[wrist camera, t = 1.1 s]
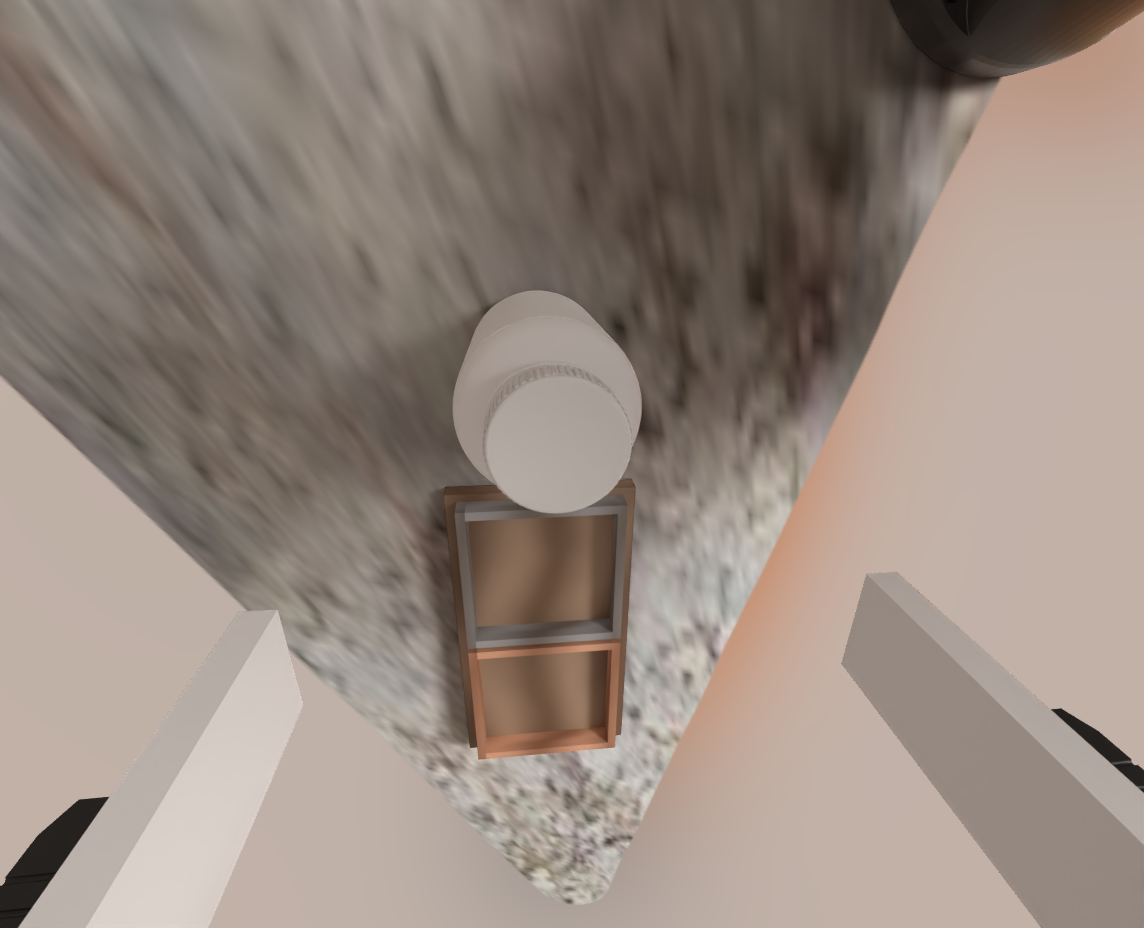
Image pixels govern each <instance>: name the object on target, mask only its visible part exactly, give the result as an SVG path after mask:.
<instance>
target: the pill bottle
mask: <svg viewBox="0 0 1144 928" xmlns="http://www.w3.org/2000/svg"><path fill="white" fill-rule="evenodd" d="M641 412H642V399H641V391H640V386H639V382H638V379H637V376H636V373H635V371H634V369H633V366H632V365H631V363H630V361H629V359H628V358H627V356H626V355H625V353H624V352H623V350H622V349H621V348H620V347H619V346H618V344H617V343H616V342H615V341H614V340H613V339H612V338H611V337H610V336H609V335H608V334H607V333H606V332H605V331H604V329H603V328H602V327H601V326H600V325H599V324H598V323H597V322H596V321H595V320H594V319H593V318H592V317H591V316H590V315H589V314H588V313H587V311H586V310H585V309H583V308H582V307H581V306H580V305H579V304H577V303H576V302H574V301H573V300H571V299H569V298H567V297H565V296H563V295H560V294H557V293H554V292H549V291H541V290H533V291H525V292H520V293H517V294H514V295H511V296H509V297H507V298H505V299H503V300H501V301H500V302H498V303H497V304H496V305H494V306H493V307H492V308H491V309H490V310H489V311H488V312H487V313H486V314H485V315H484V316H483V318H482V319H481V321H480V322H479V324H478V326H477V328H476V330H475V332H474V334H473V337H472V340H471V342H470V345H469V348H468V350H467V353H466V356H465V359H464V361H463V364H462V367H461V369H460V372H459V375H458V378H457V381H456V385H455V389H454V395H453V421H454V427H455V431H456V434H457V437H458V440H459V442H460V445H461V447H462V449H463V451H464V452H465V454H466V456H467V457H468V458H469V460H470V461H471V463H472V464H473V465H474V466H475V468H476V469H477V470H478V471H479V472H480V473H481V474H482V475H483V476H484V477H486V478H487V479H488V480H489V481H491V482H492V483H493V484H495V485H497V487H498V489H499V490H501V491H502V493H503V494H504V495H506V496H507V497H508V498H509V499H511V500H513V502H515V503H518V504H519V505H520V506H523V507H525V508H527V509H531V510H533V511H538V512H542V513H553V514H557V513H568V512H573V511H577V510H580V509H583V508H585V507H588V506H590V505H592V504H594V503H596V502H597V501H599V500H601V499H602V498H603V497H604V496H605V495H607V494H608V493H609V492H610V491H611V490H612V489H613V488H614V487H615V485H617V484H618V481H619V480H620V479H621V478H622V475H623V474H624V473H625V471H626V467H627V466H628V464H629V463H628V461H630V454H631V453H632V449H631V448H632V446H633V444H634V442H635V439H636V436H637V433H638V430H639V425H640V420H641Z"/></svg>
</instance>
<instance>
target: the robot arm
mask: <svg viewBox="0 0 1144 928" xmlns="http://www.w3.org/2000/svg"><path fill="white" fill-rule="evenodd" d="M892 3H893V6H894V8H895V10H896V13H897V15H898V17H899V19H900V21H901V23H902V25H903V27H904V28H905V30H906V31H907V33H908V34H909V36H910V37H911V38H912V40H913V41H914V42H915V44H916V45H917V46H918V47H919V48H920V49H921V50H922V51H923V52H924V53H925V54H926V55H927V56H929V57H930V58H931V59H932V60H934V61H935V62H937V63H938V64H940V65H942V66H943V67H945V68H947V69H949V70H952V71H954V72H957V73H960V74H964V75H968V76H973V77H1002V76H1007V75H1013V74H1017V73H1020V72H1024V71H1027V70H1030V69H1034V68H1037V67H1040V66H1043V65H1047V64H1050V63H1053V62H1056V61H1059V60H1062V59H1064V58H1067V57H1069V56H1071V55H1073V54H1076V53H1077V52H1080V51H1082V50H1084V49H1086V48H1088V47H1090V46H1091V45H1093V44H1095V43H1097V42H1098V41H1100V40H1101V39H1103V38H1105V37H1106V36H1108V35H1109V34H1110V33H1112V32H1113V31H1115V30H1116V29H1118V28H1119V27H1120V26H1122V25H1123V24H1125V23H1126V22H1128V21H1129V20H1131V19H1132V18H1134V17H1135V16H1137V15H1139V14H1140V13H1142V12H1143V11H1144V0H892ZM841 664H842V665H843V666H844V668H845V669H846V670H847V672H848V673H849V674H850V676H851V677H852V678H853V680H854V681H855V682H856V684H857V685H858V686H859V688H860V689H861V690H862V691H863V693H864V694H865V696H866V697H867V698H868V699H869V701H870V702H871V703H872V705H873V706H874V707H875V709H876V710H877V711H878V712H879V714H880V715H881V717H882V718H883V719H884V721H885V722H886V723H887V724H888V726H889V727H890V728H891V730H892V731H893V733H894V734H895V735H896V736H897V738H898V739H899V740H900V742H901V743H902V744H903V746H904V747H905V748H906V750H907V751H908V752H909V754H910V755H911V756H912V757H913V759H914V760H915V761H916V763H917V764H918V766H919V767H920V768H921V769H922V771H923V772H924V773H925V775H926V776H927V777H928V779H929V780H930V781H931V782H932V784H933V785H934V787H935V788H936V789H937V791H938V792H939V793H940V795H941V796H942V797H943V799H944V800H945V801H946V803H947V804H948V805H949V806H950V808H951V809H952V810H953V812H954V813H955V814H956V816H957V817H958V818H959V820H960V821H961V822H962V824H963V825H964V826H965V827H966V829H967V830H968V832H969V833H970V834H971V835H972V837H973V838H974V840H975V841H976V842H977V843H978V845H979V846H980V847H981V849H982V850H983V851H984V853H985V854H986V855H987V857H988V858H989V859H990V860H991V862H992V863H993V864H994V866H995V867H996V869H997V870H998V871H999V873H1000V874H1001V875H1002V876H1003V878H1004V879H1005V880H1006V882H1007V883H1008V884H1009V886H1010V887H1011V888H1012V890H1013V891H1014V892H1015V894H1016V895H1017V896H1018V898H1019V899H1020V900H1021V902H1022V903H1023V904H1024V906H1025V907H1026V908H1027V909H1028V911H1029V912H1030V913H1031V915H1032V916H1033V917H1034V919H1035V920H1036V921H1037V923H1038V924H1039V925H1040V927H1041V928H1144V770H1143V769H1142V768H1141V767H1139V766H1138V765H1133V763H1132V762H1131V759H1130V758H1129V757H1128V756H1127V755H1126V754H1124V753H1123V752H1122V751H1121V750H1120V749H1119V748H1117V747H1116V746H1115V745H1114V744H1113V743H1112V742H1110V741H1109V740H1108V739H1107V738H1106V737H1105V736H1103V735H1102V734H1101V733H1100V732H1099V731H1097V730H1096V729H1094V728H1092V727H1091V726H1089V725H1087V724H1085V723H1084V722H1082V721H1080V720H1079V719H1077V718H1076V717H1074V716H1072V715H1071V714H1069V713H1067V712H1066V711H1064V710H1063V709H1049V708H1048V707H1047V706H1046V705H1045V704H1044V703H1043V702H1042V701H1040V700H1039V699H1038V698H1037V697H1036V696H1035V695H1034V694H1033V693H1032V692H1030V691H1029V690H1028V689H1027V688H1026V687H1025V686H1024V685H1023V684H1021V683H1020V682H1019V681H1018V680H1017V679H1016V678H1015V677H1014V676H1013V675H1011V674H1010V673H1009V672H1008V671H1007V670H1006V669H1005V668H1004V667H1003V666H1001V665H1000V664H999V663H998V662H997V661H996V660H994V658H992V657H991V656H990V655H989V654H988V653H987V652H986V651H985V650H983V649H982V648H981V647H980V646H979V645H978V644H977V643H976V642H975V641H973V640H972V639H971V638H970V637H969V636H968V635H967V634H966V633H964V632H963V631H962V630H961V629H960V628H959V627H958V626H957V625H956V624H954V623H953V622H952V621H951V620H950V619H949V618H948V617H947V616H946V615H944V614H943V613H942V612H941V611H940V610H939V609H938V608H937V607H936V606H934V605H933V604H932V603H931V602H930V601H929V600H928V599H926V598H925V597H924V596H923V595H922V594H921V593H920V592H919V591H918V590H916V589H915V588H914V587H913V586H912V585H911V584H910V583H909V582H907V581H906V580H905V579H904V578H903V577H902V576H901V575H900V574H899V573H897V572H889V573H873V574H866V578H865V581H864V584H863V588H862V592H861V596H860V599H859V603H858V606H857V610H856V613H855V617H854V620H853V624H852V628H851V632H850V635H849V639H848V642H847V645H846V649H845V653H844V656H843V660H842V663H841ZM302 708H303V703H302V699H301V695H300V691H299V688H298V684H297V680H296V677H295V673H294V669H293V666H292V662H291V658H290V654H289V650H288V647H287V643H286V639H285V636H284V632H283V628H282V624H281V621H280V617H279V613H278V610H261V611H245V612H239V613H238V614H237V615H236V617H235V618H234V619H233V621H232V622H231V624H230V625H229V627H228V628H227V629H226V631H225V633H224V634H223V635H222V637H221V638H220V640H219V641H218V643H217V644H216V645H215V647H214V648H213V650H212V651H211V652H210V654H209V655H208V657H207V658H206V660H205V661H204V663H203V664H202V665H201V667H200V668H199V670H198V671H197V673H196V674H195V675H194V677H193V678H192V680H191V681H190V683H189V684H188V685H187V687H186V688H185V690H184V691H183V693H182V694H181V695H180V697H179V698H178V700H177V701H176V703H175V704H174V705H173V707H172V708H171V710H170V711H169V713H168V714H167V715H166V717H165V718H164V720H163V721H162V723H161V724H160V726H159V727H158V728H157V730H156V731H155V733H154V734H153V735H152V737H151V738H150V740H149V741H148V743H147V744H146V745H145V747H144V748H143V750H142V751H141V753H140V754H139V756H138V757H137V758H136V760H135V761H134V763H133V764H132V766H131V767H130V769H129V770H128V771H127V773H126V774H125V776H124V777H123V778H122V780H121V782H120V783H119V784H118V786H117V787H116V788H115V790H114V791H113V793H112V794H111V796H110V797H102V798H92V799H80V800H78V801H77V802H76V803H75V804H73V805H72V806H71V807H70V808H69V809H68V810H67V811H65V812H64V813H63V814H62V815H61V816H60V817H59V818H57V819H56V820H55V821H54V822H53V823H52V824H50V825H49V826H48V827H47V828H46V829H45V830H44V831H42V832H41V833H40V834H39V835H38V836H37V837H36V838H35V840H34V841H33V843H32V844H31V845H30V846H29V848H28V849H27V850H26V851H25V853H24V854H23V855H22V857H21V858H20V859H19V860H18V862H17V863H16V865H15V866H14V867H13V868H12V870H11V871H10V872H9V873H8V875H7V876H6V880H5V883H4V884H3V885H2V886H0V928H208V927H209V925H210V923H211V920H212V918H213V915H214V913H215V911H216V909H217V906H218V904H219V902H220V899H221V897H222V894H223V892H224V890H225V888H226V885H227V883H228V880H229V878H230V876H231V874H232V871H233V869H234V867H235V864H236V862H237V859H238V857H239V855H240V852H241V850H242V848H243V845H244V843H245V841H246V838H247V836H248V834H249V831H250V829H251V827H252V824H253V822H254V820H255V817H256V815H257V813H258V810H259V808H260V806H261V803H262V801H263V798H264V796H265V794H266V792H267V789H268V787H269V785H270V782H271V780H272V778H273V775H274V773H275V771H276V768H277V766H278V764H279V761H280V759H281V756H282V754H283V752H284V749H285V747H286V745H287V743H288V740H289V738H290V735H291V733H292V731H293V729H294V726H295V724H296V721H297V719H298V717H299V715H300V712H301V710H302Z"/></svg>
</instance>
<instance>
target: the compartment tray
mask: <svg viewBox="0 0 1144 928" xmlns="http://www.w3.org/2000/svg"><path fill="white" fill-rule="evenodd" d="M443 497H444V506H445V515H446V525H447V534H448V544H449V553H450V563H451V572H452V582H453V591H454V601H455V610H456V620H457V629H458V639H459V648H460V658H461V667H462V676H463V686H464V695H465V705H466V714H467V724H468V733H469V743H470V748H475V747H477V748H478V759H490V758H502V757H513V756H524V755H535V754H546V753H557V752H568V751H579V750H590V749H602V748H613V747H615V736H616V735H621V726H622V709H623V692H624V675H625V658H626V641H627V624H628V607H629V590H630V573H631V555H632V538H633V521H634V504H635V485H634V483H633V481H632V479H628V480H619V481H618V484H617V485H615V487H614V488H613V489H612V490H611V491H610V492H609V493H608V494H607V495H605V496H604V497H603V498H602V499H601V500H599V501H597V502H596V503H594V504H592V505H590V506H588V507H585V508H583V509H580V510H577V511H573V512H568V513H557V514H553V513H542V512H538V511H533V510H531V509H527V508H525V507H523V506H520V505H519V504H518V503H515V502H513V500H511V499H509V498H508V497H507V496H506V495H504V494H503V493H502V491H501V490H499V489H498V487H497V485H484V486H460V487H445V491H444V495H443Z"/></svg>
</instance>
